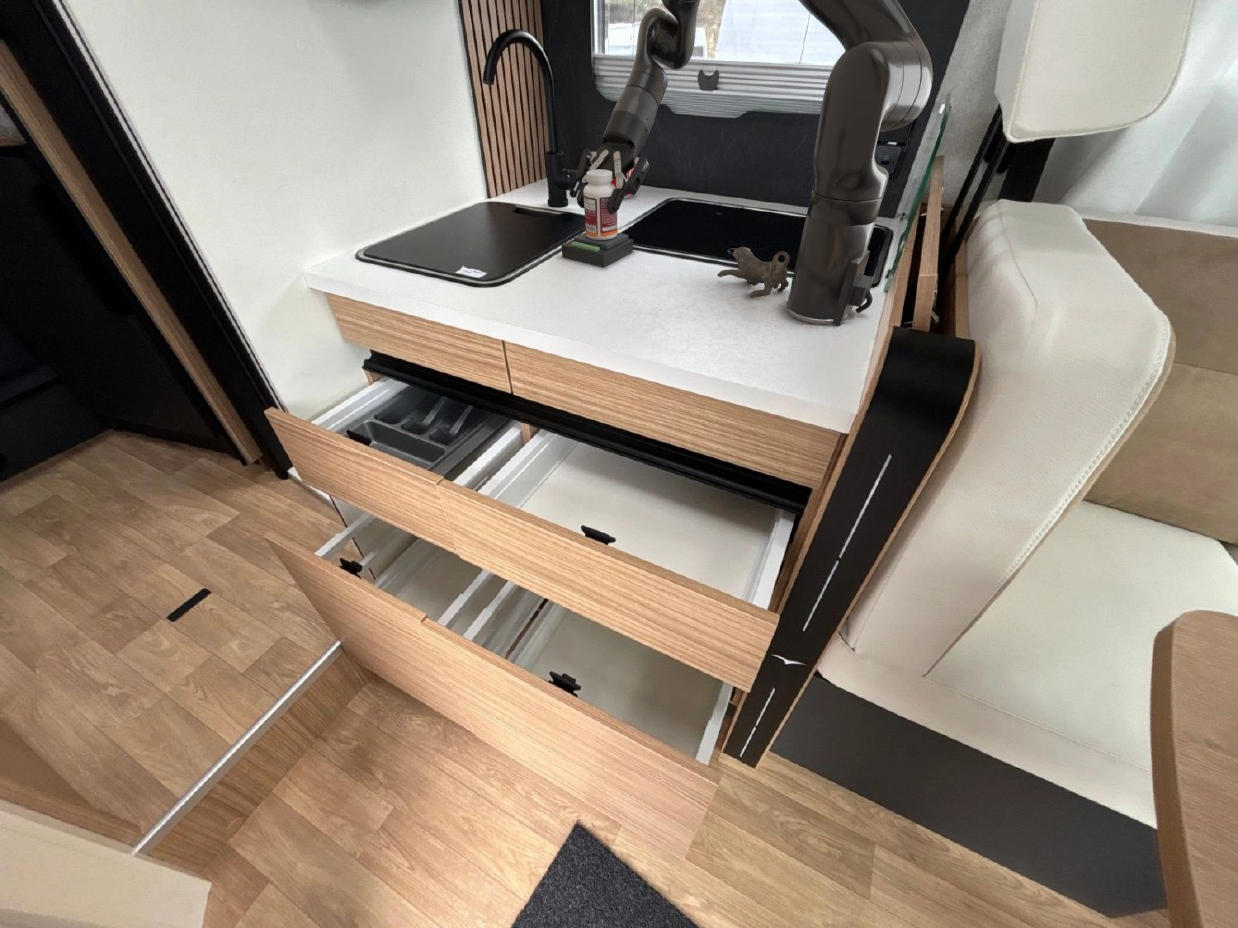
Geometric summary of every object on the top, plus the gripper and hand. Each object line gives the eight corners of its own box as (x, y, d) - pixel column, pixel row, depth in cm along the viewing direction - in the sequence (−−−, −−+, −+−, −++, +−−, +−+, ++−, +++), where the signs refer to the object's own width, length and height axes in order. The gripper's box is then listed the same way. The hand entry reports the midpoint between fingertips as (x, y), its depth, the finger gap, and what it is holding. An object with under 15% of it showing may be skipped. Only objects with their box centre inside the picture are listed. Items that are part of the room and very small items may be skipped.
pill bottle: (618, 231, 102) (617, 168, 95) (616, 241, 97) (615, 176, 90) (587, 230, 102) (584, 168, 95) (583, 241, 98) (580, 176, 90)
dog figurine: (791, 295, 86) (801, 250, 81) (770, 305, 83) (779, 258, 78) (736, 274, 93) (742, 231, 88) (714, 283, 90) (719, 239, 85)
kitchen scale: (633, 252, 102) (633, 235, 100) (603, 268, 96) (603, 250, 94) (592, 243, 106) (591, 226, 104) (562, 257, 100) (560, 240, 98)
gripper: (590, 105, 95) (554, 190, 95) (657, 111, 88) (619, 202, 89) (607, 135, 101) (574, 214, 102) (670, 142, 95) (635, 226, 96)
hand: (595, 208), depth 95 cm, fingers open, 6 cm apart
